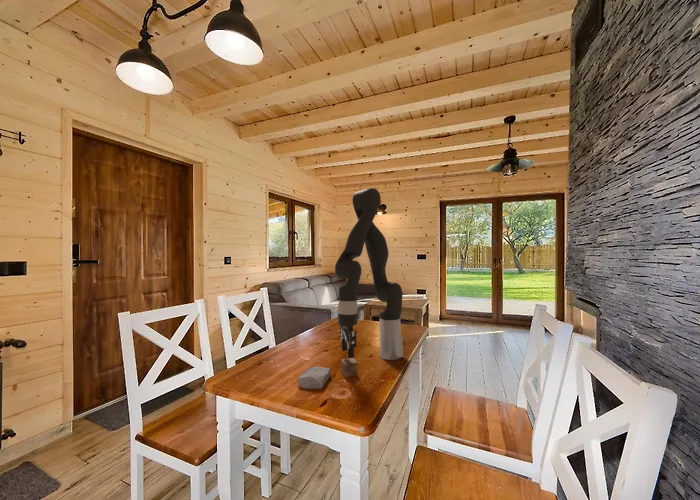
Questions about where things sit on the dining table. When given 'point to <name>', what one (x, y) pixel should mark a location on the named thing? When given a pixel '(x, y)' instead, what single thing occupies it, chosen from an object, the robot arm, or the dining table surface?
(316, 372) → the stone block
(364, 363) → the dining table surface
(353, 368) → the walnut cube
